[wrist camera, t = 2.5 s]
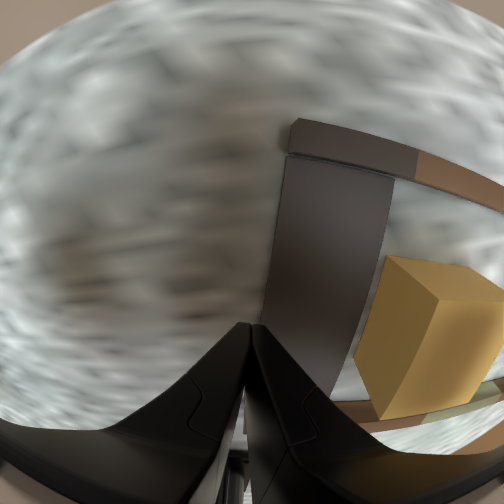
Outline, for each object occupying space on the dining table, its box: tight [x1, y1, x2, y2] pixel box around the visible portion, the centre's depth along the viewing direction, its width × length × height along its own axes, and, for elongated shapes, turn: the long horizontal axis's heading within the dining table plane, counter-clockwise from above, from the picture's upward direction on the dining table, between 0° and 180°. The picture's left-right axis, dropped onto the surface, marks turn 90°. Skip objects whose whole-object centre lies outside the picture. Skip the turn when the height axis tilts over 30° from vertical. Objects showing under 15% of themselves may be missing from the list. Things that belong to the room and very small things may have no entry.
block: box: [353, 255, 504, 420], centre depth 9 cm, size 5×5×4 cm
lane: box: [243, 118, 504, 435], centre depth 10 cm, size 13×25×2 cm, turn 83°
